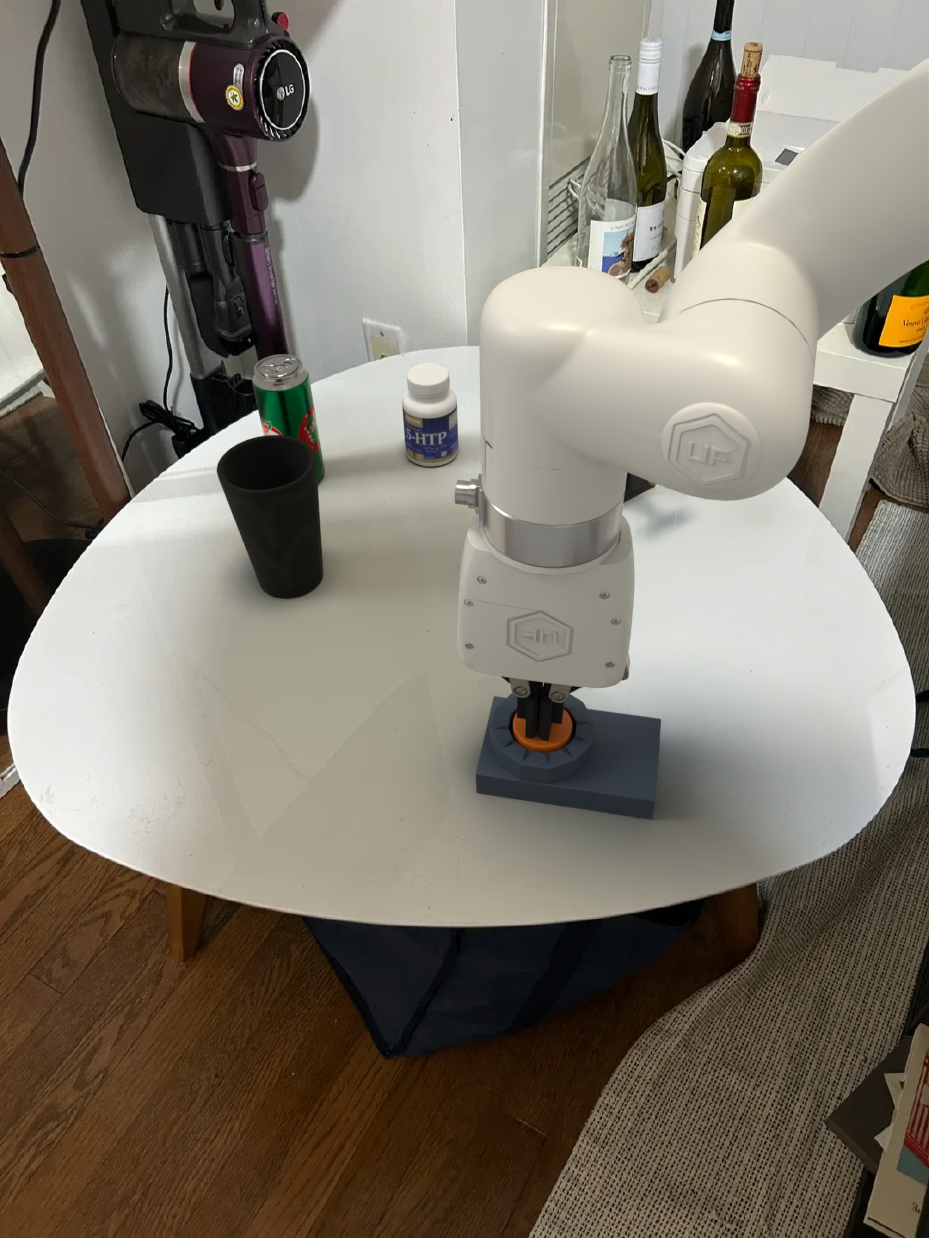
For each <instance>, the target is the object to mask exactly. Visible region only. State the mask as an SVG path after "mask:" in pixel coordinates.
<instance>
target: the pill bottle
mask: <svg viewBox="0 0 929 1238" xmlns="http://www.w3.org/2000/svg"><path fill="white" fill-rule="evenodd" d="M406 381H407V390H406V391H405V392H404V394H403V395H402V398H401V399H402V400H401V405H402V407H401V408H402V419H403V434H404V447H405V455H406V457H407V458H408V459H409V460H410V461H411V462H413V463H414V464H416V465H419V466H422V467H439V466H443V465H446V464H448V463H450V462H452V461H453V460H454V459H456V456H457V455H458V452H459V425H458V424H459V423H458V422H459V421H458V420H459V419H458V400H457V399H458V398H457V395H456V393H455V392H454V390H453V389H452V388H451V380H450V371H449V369H448V368H447V367H445V366H444V365H441V364H438V363H433V362H426V363H421V364H417V365H415V366H412V367H411V368H410V369H409V370H408V371H407V374H406Z"/></svg>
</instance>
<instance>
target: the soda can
mask: <svg viewBox="0 0 929 1238" xmlns="http://www.w3.org/2000/svg"><path fill="white" fill-rule="evenodd" d="M253 372H254V373H253V375H252V378H251V383H252V384H251V385H252V388H253V392H254V396H255V402H256V407H257V412H258V415H259V420H260V424H261V430H262V434H263V436H266V435H284V436H291V437H294V438H297V439H300V440H302V441H303V442H305V443H307V444H308V445H309V446H310V447H311V448H312V449H313V450H314V452H315V455H316V463H317V479H318V481H320V479H321V478H322V477H323V476H324V473H325V464H324V457H323V452H322V447H321V446H322V445H321V439H320V434H319V427H318V422H317V415H316V410H315V409H316V408H315V404H314V396H313V391H312V385H311V380H310V375H309V374H310V373H309V371H308V369H307V368H306V367H305V366H304V363H303V361H302V360H301V358H299V357H297V356H295V355H292V354H273V355H269V356H266V357H264V358H261V359H260V360H258V361H257V362H256V364H255V365H254V368H253Z"/></svg>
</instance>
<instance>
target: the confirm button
mask: <svg viewBox="0 0 929 1238" xmlns="http://www.w3.org/2000/svg"><path fill="white" fill-rule="evenodd" d="M525 727H526V719H520V718H517V713H516V715H515V717H514V720H513V739H514V741H515V742H516V743H518V744H519V745H521V746H522V747H524V748H525V749H527V750H528V751H533V752H540V753H550V752H553V751H557V750H560V749H564V748H565V747H566V746H567V745H568V744H569V743H570V742H571V735H572V721H571V718H570V716H569V714H568V713H567V712H566V711H565V710H564V712H563V719H562V724H555V723H552V725H551V731H550V737H549V741H546V740H541V738H539V737H538V734H539V724H538V729H537V735H536V737H533V739H532V738H525Z"/></svg>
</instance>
